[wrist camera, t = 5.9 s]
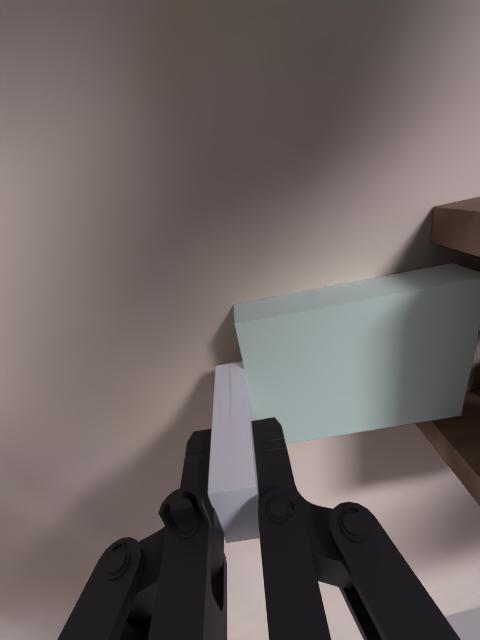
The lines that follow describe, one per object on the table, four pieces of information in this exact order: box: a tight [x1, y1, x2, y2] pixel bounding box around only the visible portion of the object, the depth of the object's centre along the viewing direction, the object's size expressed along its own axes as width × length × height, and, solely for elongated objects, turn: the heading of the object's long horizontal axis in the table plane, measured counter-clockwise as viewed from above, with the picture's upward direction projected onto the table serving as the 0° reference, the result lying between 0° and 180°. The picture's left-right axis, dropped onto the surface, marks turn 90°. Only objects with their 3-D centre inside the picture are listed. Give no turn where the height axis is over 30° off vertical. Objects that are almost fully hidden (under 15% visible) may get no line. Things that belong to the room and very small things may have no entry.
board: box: [234, 263, 480, 444], centre depth 15 cm, size 8×11×2 cm
